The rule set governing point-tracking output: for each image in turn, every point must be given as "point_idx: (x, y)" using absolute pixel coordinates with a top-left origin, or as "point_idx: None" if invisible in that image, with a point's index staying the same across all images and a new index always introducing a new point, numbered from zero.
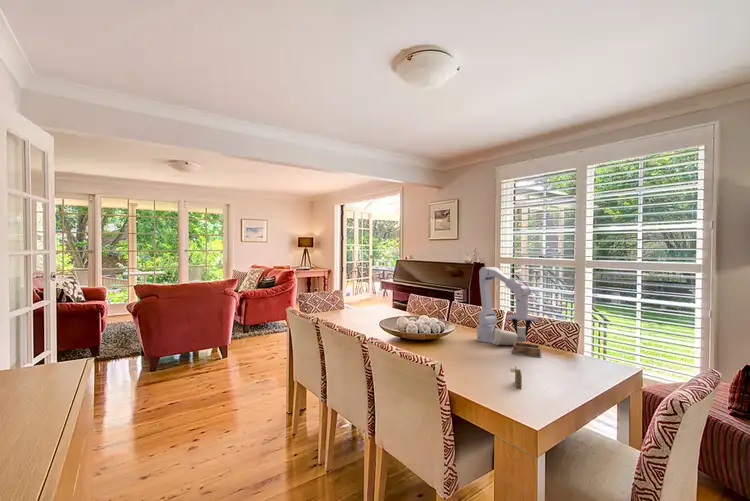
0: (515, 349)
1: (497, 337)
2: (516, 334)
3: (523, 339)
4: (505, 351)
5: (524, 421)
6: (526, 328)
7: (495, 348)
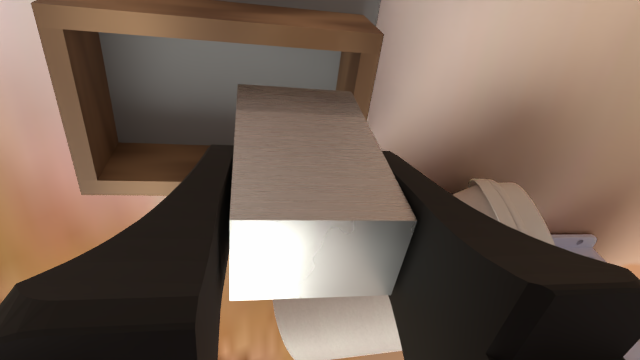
0: (349, 20)
1: (528, 204)
2: (334, 323)
3: (264, 96)
4: (432, 44)
5: None
6: (202, 207)
7: (504, 107)
